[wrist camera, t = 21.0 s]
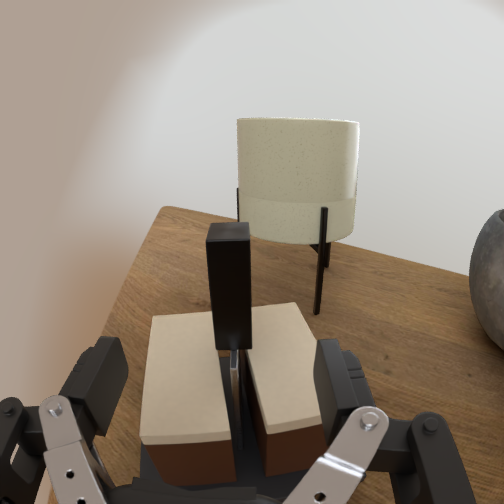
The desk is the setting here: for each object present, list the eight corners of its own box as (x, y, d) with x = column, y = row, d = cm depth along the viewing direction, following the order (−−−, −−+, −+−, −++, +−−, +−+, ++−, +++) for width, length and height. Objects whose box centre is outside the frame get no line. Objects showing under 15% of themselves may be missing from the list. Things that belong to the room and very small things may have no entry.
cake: (143, 513, 15) (101, 463, 12) (150, 369, 30) (133, 304, 27) (363, 481, 18) (396, 421, 15) (303, 353, 32) (309, 287, 29)
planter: (254, 256, 55) (252, 118, 46) (347, 267, 51) (357, 122, 42) (221, 302, 42) (211, 119, 33) (343, 320, 37) (361, 121, 28)
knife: (225, 449, 20) (201, 253, 14) (227, 394, 26) (212, 214, 20) (255, 449, 20) (251, 252, 14) (252, 393, 26) (248, 213, 20)
